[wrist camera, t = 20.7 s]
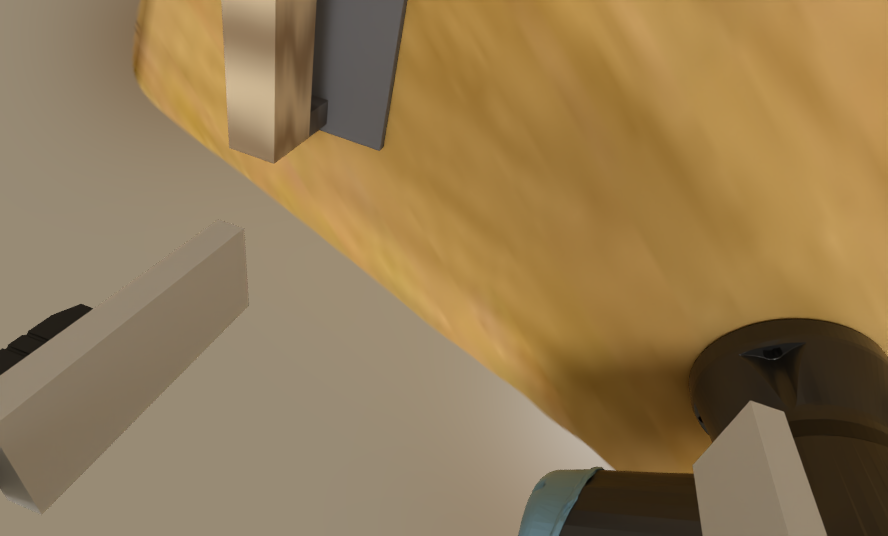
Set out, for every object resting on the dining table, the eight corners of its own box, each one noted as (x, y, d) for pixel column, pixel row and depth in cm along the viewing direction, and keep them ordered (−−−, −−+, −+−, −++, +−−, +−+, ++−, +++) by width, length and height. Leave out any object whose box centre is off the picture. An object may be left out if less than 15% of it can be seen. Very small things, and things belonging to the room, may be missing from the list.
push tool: (358, 135, 40) (311, 176, 34) (257, 100, 41) (193, 135, 35) (388, -107, 30) (329, -110, 24) (253, -147, 31) (162, -161, 25)
